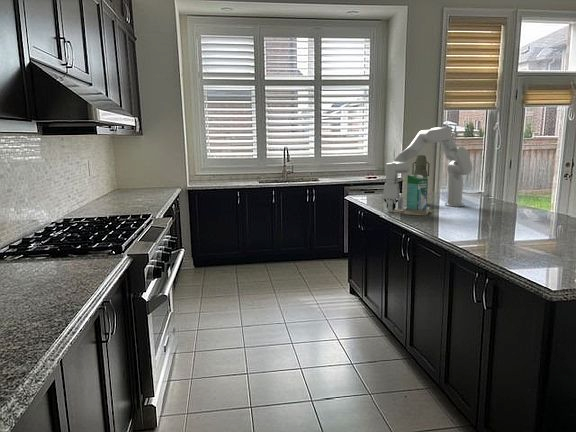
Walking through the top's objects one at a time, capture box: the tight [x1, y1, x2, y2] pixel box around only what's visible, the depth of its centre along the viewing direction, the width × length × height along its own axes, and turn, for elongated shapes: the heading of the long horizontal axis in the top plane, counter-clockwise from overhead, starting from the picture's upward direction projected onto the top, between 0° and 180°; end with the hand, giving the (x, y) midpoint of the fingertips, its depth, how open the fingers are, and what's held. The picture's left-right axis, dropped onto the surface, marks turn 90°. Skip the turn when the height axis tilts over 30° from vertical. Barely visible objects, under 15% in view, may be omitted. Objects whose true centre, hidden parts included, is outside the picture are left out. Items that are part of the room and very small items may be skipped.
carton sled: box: [387, 199, 431, 216], centre depth 287 cm, size 14×25×8 cm, turn 64°
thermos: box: [411, 154, 430, 178], centre depth 319 cm, size 9×12×35 cm
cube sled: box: [397, 196, 407, 210], centre depth 298 cm, size 8×15×8 cm, turn 64°
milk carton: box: [406, 174, 429, 210], centre depth 283 cm, size 9×9×25 cm
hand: (391, 208), depth 292 cm, fingers closed on carton sled, 3 cm apart
